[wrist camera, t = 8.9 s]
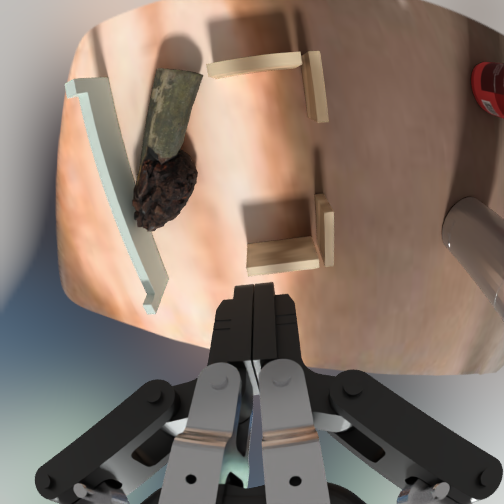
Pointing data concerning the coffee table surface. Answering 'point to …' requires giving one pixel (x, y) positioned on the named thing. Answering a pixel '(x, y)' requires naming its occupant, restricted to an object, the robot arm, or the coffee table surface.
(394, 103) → the coffee table surface
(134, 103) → the coffee table surface
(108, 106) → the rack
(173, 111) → the dark elongated piece
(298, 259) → the socket block
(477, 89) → the canned food
